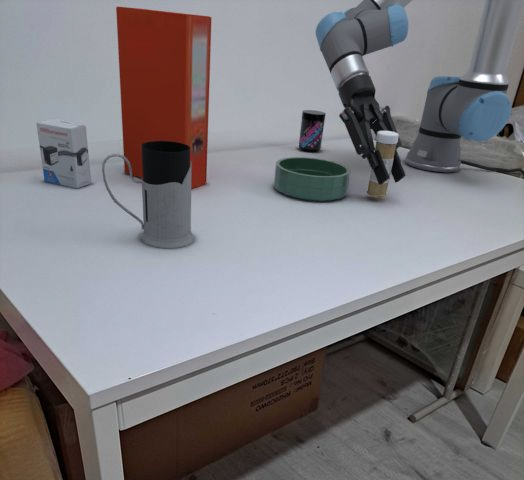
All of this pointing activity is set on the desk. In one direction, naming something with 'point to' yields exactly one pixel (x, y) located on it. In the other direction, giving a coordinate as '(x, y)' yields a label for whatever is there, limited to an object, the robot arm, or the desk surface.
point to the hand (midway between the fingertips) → (392, 180)
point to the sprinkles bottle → (387, 150)
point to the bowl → (311, 178)
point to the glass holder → (163, 193)
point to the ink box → (64, 152)
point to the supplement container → (311, 130)
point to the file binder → (164, 83)
